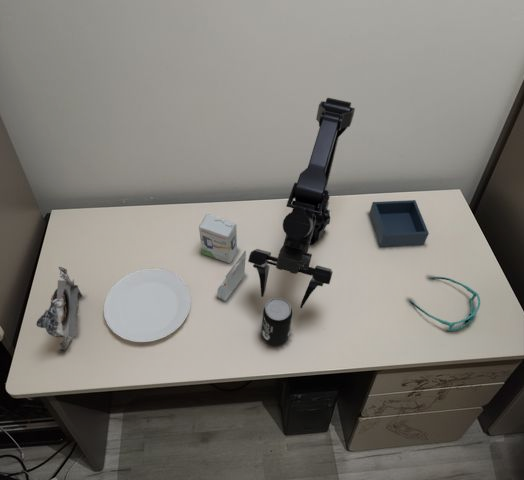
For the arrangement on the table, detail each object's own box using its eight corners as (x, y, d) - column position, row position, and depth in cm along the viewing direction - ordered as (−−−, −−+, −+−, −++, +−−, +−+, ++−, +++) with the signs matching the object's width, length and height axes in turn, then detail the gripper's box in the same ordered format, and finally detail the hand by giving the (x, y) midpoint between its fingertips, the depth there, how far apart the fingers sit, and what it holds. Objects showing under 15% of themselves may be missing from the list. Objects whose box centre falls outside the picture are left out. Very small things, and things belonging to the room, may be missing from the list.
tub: (379, 247, 135) (383, 235, 131) (369, 213, 143) (372, 201, 139) (423, 245, 136) (428, 233, 132) (410, 211, 144) (415, 199, 140)
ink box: (237, 251, 133) (237, 222, 123) (229, 265, 130) (229, 236, 120) (209, 241, 134) (207, 212, 125) (200, 254, 131) (197, 226, 122)
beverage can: (286, 349, 115) (290, 324, 105) (258, 344, 115) (260, 318, 106) (290, 325, 119) (295, 299, 109) (264, 320, 119) (266, 293, 110)
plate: (97, 288, 123) (95, 283, 122) (177, 263, 129) (176, 258, 127) (115, 359, 111) (113, 354, 110) (203, 328, 117) (202, 323, 116)
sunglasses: (458, 342, 117) (463, 331, 114) (404, 308, 125) (407, 297, 121) (484, 306, 124) (490, 294, 121) (431, 276, 131) (435, 264, 128)
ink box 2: (216, 298, 123) (215, 271, 114) (236, 272, 128) (236, 245, 119) (226, 303, 122) (225, 276, 113) (245, 277, 127) (246, 250, 118)
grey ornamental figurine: (65, 297, 121) (50, 266, 111) (83, 297, 122) (69, 266, 111) (53, 353, 112) (35, 325, 102) (73, 352, 112) (56, 324, 102)
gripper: (251, 226, 103) (234, 297, 105) (338, 250, 100) (318, 322, 102) (261, 225, 114) (245, 288, 116) (339, 245, 111) (322, 311, 113)
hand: (281, 302), depth 111 cm, fingers open, 9 cm apart
